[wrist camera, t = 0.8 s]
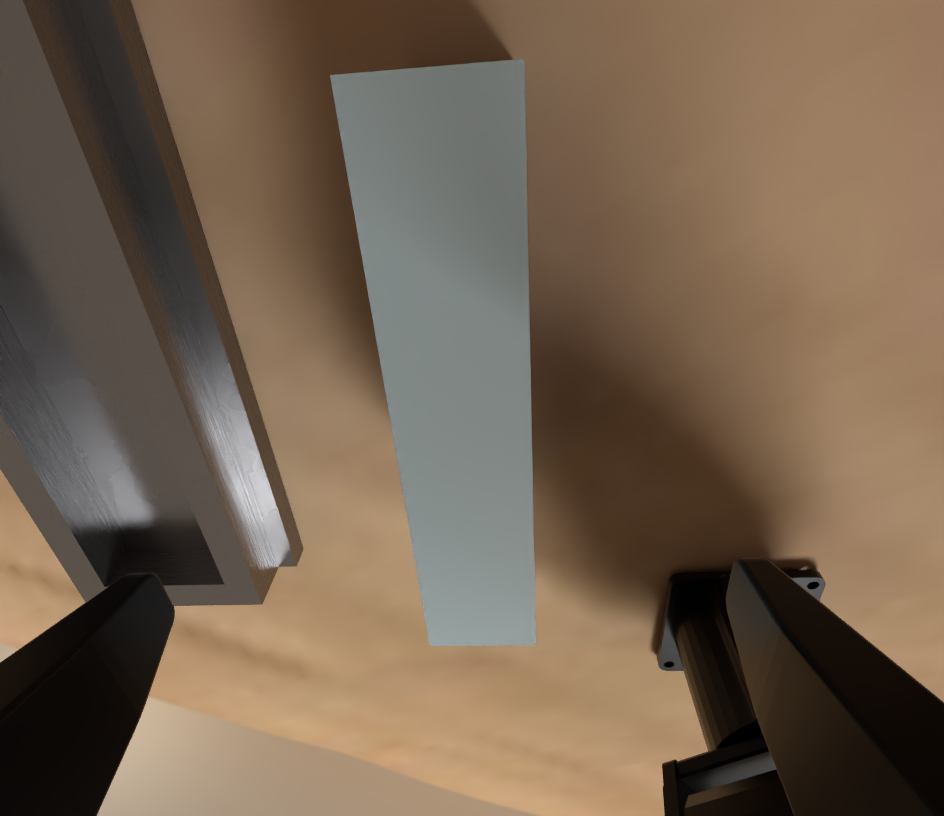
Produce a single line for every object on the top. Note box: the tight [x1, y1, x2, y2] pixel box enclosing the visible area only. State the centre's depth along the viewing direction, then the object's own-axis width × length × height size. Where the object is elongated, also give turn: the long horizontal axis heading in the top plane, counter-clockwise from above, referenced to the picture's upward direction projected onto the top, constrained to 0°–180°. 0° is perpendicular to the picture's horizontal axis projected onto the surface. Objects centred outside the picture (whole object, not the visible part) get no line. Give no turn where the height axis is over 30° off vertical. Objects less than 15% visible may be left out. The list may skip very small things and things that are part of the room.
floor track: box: [0, 0, 303, 606], centre depth 19 cm, size 22×9×3 cm, turn 4°
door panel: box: [330, 59, 536, 646], centre depth 16 cm, size 14×3×8 cm, turn 4°
